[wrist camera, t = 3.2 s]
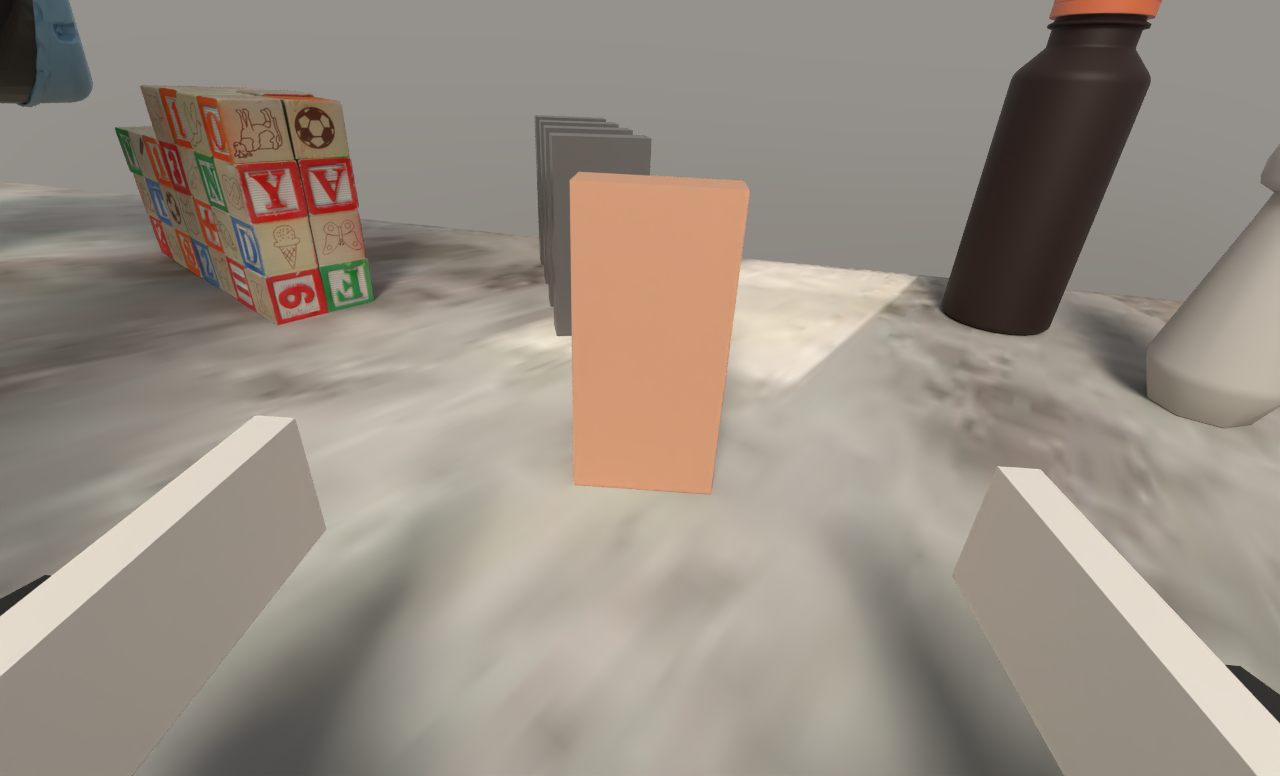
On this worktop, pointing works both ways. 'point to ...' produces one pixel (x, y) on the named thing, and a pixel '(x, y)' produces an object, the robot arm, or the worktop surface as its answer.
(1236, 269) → the salt shaker
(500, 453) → the worktop surface
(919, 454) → the worktop surface
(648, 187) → the orange domino
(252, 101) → the stack of blocks
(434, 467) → the worktop surface
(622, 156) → the domino
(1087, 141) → the vinegar
